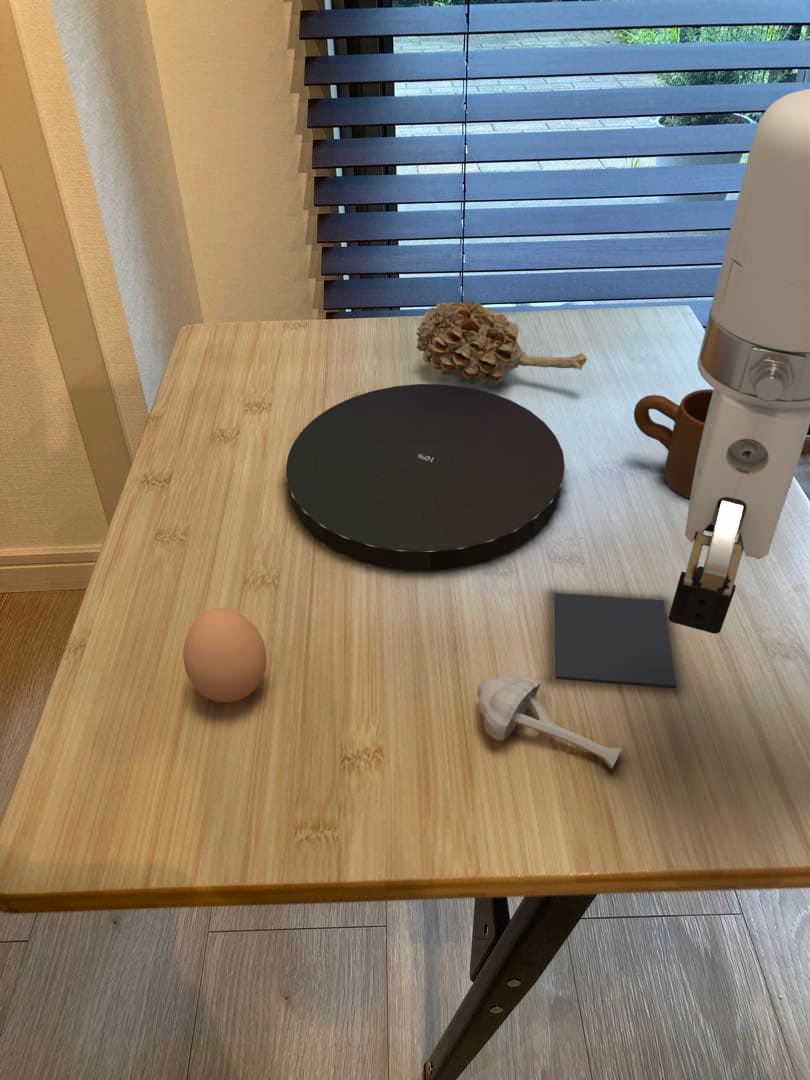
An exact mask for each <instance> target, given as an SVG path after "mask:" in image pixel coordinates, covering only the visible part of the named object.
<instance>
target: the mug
mask: <svg viewBox="0 0 810 1080" xmlns="http://www.w3.org/2000/svg"><path fill="white" fill-rule="evenodd" d="M713 390H714V389H711V388H710V389H699V390H695V391H692V392H690V393H687V394H686V395H685V396H684V397H683V398H682V399H681V401H680V403H679V404H677V403H676V402H674V401H672V400H671V399H669V398H667V397H666V396H664V395H657V394H651V395H650V394H649V395H645V396H644V397H642V398H640V399H639V400H638V402H637V403H636V404H635V405H634V410H633V419H634V423H635V424H636V427H637V429H638V430H639V431H640V432H641V433H642V434H643V435H645V436H647V437H649V438H650V439H653V440H656V441H658V442H659V443H660V444H661V445H662V446H663V447H664V448H665V449H666V450H667V455H666V460H665V464H664V470H663V471H664V479H665V481H666V483H667V485H668V487H670V488H671V489H672V490H673V491H675V492H676V493H678V494H680V495H681V496H683V497H686V498H689V499H690V497H691V490H692V484H693V478H694V473H695V467H696V462H697V457H698V452H699V448H700V443H701V439H702V434H703V430H704V425H705V421H706V417H707V413H708V409H709V405H710V401H711V397H712V393H713ZM650 410H655V411H658V412H659V413H660V414H662V415H664V416H665V417H667V418H669V419H670V420H672V421H673V423H674V424H673V426H672V427H673V428H672V429H671V428H669V427H668V426H666V425H664V424H661V423H657V422H655V421H654V420H653V419H652V418H651V416H650Z"/></svg>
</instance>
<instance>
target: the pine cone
mask: <svg viewBox="0 0 810 1080" xmlns="http://www.w3.org/2000/svg"><path fill="white" fill-rule="evenodd" d="M421 320H422V321H421V322H420V323H419V327H417V332H415V334H416V335H417V336H418V338H416V340H417V344H416V349H418V351H420V352H423V353H422V360H423V361H424V362H427V363H428V364H431V368H432V369H434V370H436V371H440V372H441V373H442V376H451V377H452V379H453V381H461V380H462V379H464V381H465V382H466V383H469V382H471V381H473V380H475V382H476V384H478V385H481V384H485V383H486V382H487V381H489V382H490V383H491V384H492V385H494V386H496V385H497V386H498V384H500V383H501V381H502V380H503V378H504V376H505V375H506V374H508V373H509V372H511V371H513V370H515V369H517V368H519V366H522V367H539V368H545V369H546V368H555V369H556V368H557V369H575V370H576V369H577V370H579V371H581V372H582V371H583V367H584V365H585V364H586V362H589V363H591V361H589V359H587V355H585V354H583V352H580V353H578V354H576V355H573V356H566V357H564V356H563V357H561V356H560V357H555V356H554V357H553V356H536V355H528V354H526V351H524V350H523V348H522V347H521V346H520V344H519V343H518V335H519V326H518V324H517V323H515V322H512V321H510V320H508V319H507V317H506V316H505V315H504V314H503V313H502V312H501V313H497V314H496V313H495V311H494V310H493V309H492V308H491V307H488V308H484V306H483V305H482V304H481V303H480V302H479V301H478V302H476V303H472V302H471V301H470V300H463V301H462V302H459V303H457V302H456V301H449V303H448V302H447V303H446V302H444V301H442V302H439V303H437V304H436V308H435V306H433V307H429V308H428V310H427V311H426V312H425V313H424V316H423V317H422V319H421Z"/></svg>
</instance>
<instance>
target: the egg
mask: <svg viewBox="0 0 810 1080" xmlns="http://www.w3.org/2000/svg"><path fill="white" fill-rule="evenodd" d="M182 653H183V655H182V657H183V664H184V669H185V673H186V675H187V678H188V679H189V681H190V683H191V685H192V686H193V687H194V688H195V689H196V690H197V692H198V693H200V694H201V695H202V696H204V697H206V699H210V700H212V701H215V702H218V703H234V702H237V701H240V700H243V699H245V698H247V697H248V696H249V695H251V694H252V693H253V691H255V690H256V689H257V688H258V687H259V685H260V683H261V682H262V680H263V678H264V676H265V672H266V669H267V664H268V663H267V650H266V646H265V642H264V639H263V637H262V635H261V633H260V631H259V629H258V628H257V627H256V625H254V624H253V622H251V621H250V620H249V618H247V616H245V615H243V614H242V613H240V612H238V611H237V610H234V609H232V608H228V607H217V608H212V609H209V610H206V611H205V612H203V613H201V614H200V615H199V616H198V617H196V619H195V620H194V622H193V623H192V624H191V626H190V627H189V629H188V631H187V634H186V637H185V641H184V645H183V651H182Z"/></svg>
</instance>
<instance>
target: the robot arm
mask: <svg viewBox="0 0 810 1080" xmlns="http://www.w3.org/2000/svg"><path fill="white" fill-rule="evenodd" d="M735 205H736V206H735V210H734V212H733V217H732V221H731V226H730V229H729V233H728V236H727V237H728V238H727V242H726V246H725V250H724V255H723V258H722V262H721V267H720V271H719V274H718V278H717V282H716V286H715V290H714V293H713V294H714V295H713V298H712V302H711V307H710V311H709V314H708V318H707V322H706V326H705V330H704V334H703V338H702V342H701V346H700V351H699V355H698V359H697V370H698V372H699V373H700V376H701V377H702V379H703V380H704V381H705V382H706V383H707V384H708V385H709V386H710V387H711V388H713V389H712V390H713V393H712V397H711V401H710V405H709V409H708V413H707V417H706V421H705V425H704V430H703V434H702V439H701V443H700V448H699V452H698V457H697V462H696V467H695V473H694V478H693V484H692V490H691V497H690V498H689V505H688V510H687V516H686V517H687V519H686V524H685V530H684V531H685V532H684V535H685V537H686V538H687V540H688V541H689V542H690V543H691V544H693V545H692V547H691V552H690V555H689V559H688V562H687V568H686V570H685V571H680V575H679V578H678V583H677V586H676V589H675V593H674V595H673V599H672V604H671V607H670V609H669V615H668V620H669V621H670V622H671V623H673V624H677V625H680V626H684V627H688V628H690V629H691V628H692V629H696V630H699V631H703V632H706V633H710V634H714V635H716V634H720V632H721V631H722V628H723V626H724V622H725V620H726V617H727V614H728V611H729V609H730V606H731V603H732V600H733V597H734V595H735V592H736V587H737V584H735V581H736V578H737V574H738V570H739V567H740V566H739V565H740V563H741V559H742V555H743V552H744V554H745V556H746V557H749V558H750V557H751V558H755V560H761V559H764V558H765V557H767V556H768V555H769V553H770V549H771V546H772V543H773V540H774V536H775V533H776V530H777V527H778V524H779V521H780V518H781V515H782V512H783V509H784V507H785V503H786V500H787V497H788V494H789V491H790V488H791V485H792V482H793V479H794V476H795V473H796V470H797V467H798V464H799V461H800V459H801V455H802V451H803V450H804V449H803V448H804V445H805V441H806V439H807V434H808V432H809V428H810V88H806V89H802V90H797V91H793V92H790V93H788V94H785V95H784V96H782V97H779V99H777V100H775V101H774V102H773V103H772V104H770V106H769V107H768V108H767V109H766V110H765V111H764V113H763V114H762V116H761V117H760V119H759V121H758V122H757V125H756V128H755V131H754V134H753V138H752V141H751V144H750V148H749V152H748V156H747V160H746V164H745V168H744V171H743V176H742V179H741V185H740V189H739V193H738V196H737V200H736V204H735ZM705 532H709V533H712V534H711V535H707V534H704V533H705ZM737 536H738V537H737ZM736 540H737V541H736ZM703 546H706V547H708V550H707V554H706V556H705V561H704V563H703V566H701V565H699V562H700V558H701V555H702V550H703ZM698 565H699V566H698Z"/></svg>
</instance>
